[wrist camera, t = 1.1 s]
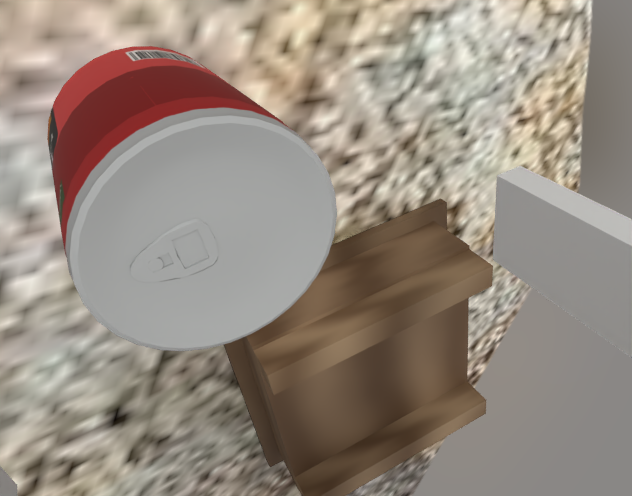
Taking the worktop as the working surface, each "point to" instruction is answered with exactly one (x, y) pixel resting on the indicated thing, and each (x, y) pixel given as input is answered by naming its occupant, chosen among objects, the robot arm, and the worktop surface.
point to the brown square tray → (367, 356)
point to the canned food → (183, 201)
